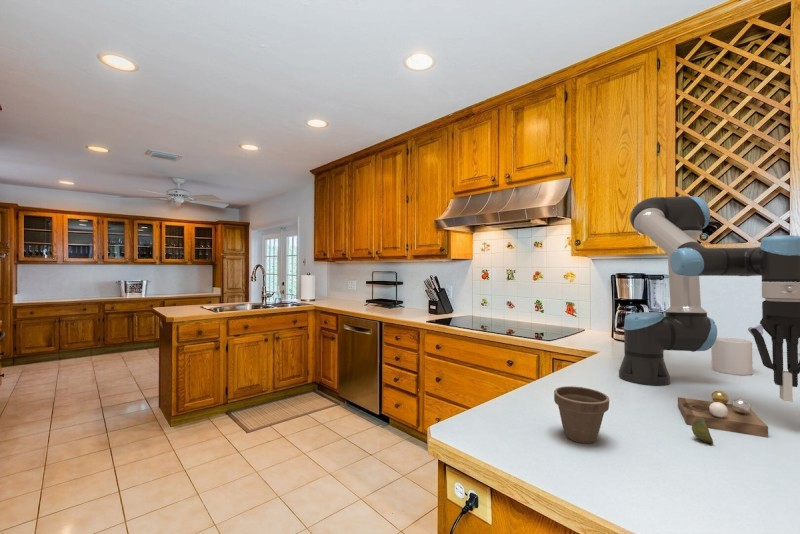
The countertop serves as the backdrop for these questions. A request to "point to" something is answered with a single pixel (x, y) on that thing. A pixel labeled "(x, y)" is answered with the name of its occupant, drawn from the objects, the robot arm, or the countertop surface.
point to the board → (722, 418)
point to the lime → (701, 430)
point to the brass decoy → (720, 397)
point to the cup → (732, 356)
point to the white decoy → (718, 409)
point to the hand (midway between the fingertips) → (786, 399)
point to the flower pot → (581, 412)
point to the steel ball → (741, 406)
